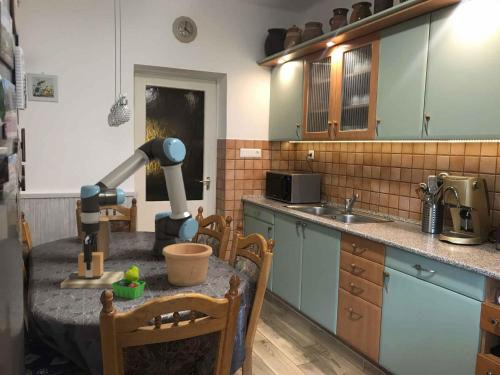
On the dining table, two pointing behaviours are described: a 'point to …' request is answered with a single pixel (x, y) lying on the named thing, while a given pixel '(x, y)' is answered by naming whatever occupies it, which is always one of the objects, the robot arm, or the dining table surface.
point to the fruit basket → (129, 284)
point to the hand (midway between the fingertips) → (91, 274)
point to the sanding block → (97, 265)
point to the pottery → (187, 263)
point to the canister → (109, 225)
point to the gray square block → (73, 276)
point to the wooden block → (101, 239)
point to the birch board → (93, 281)
